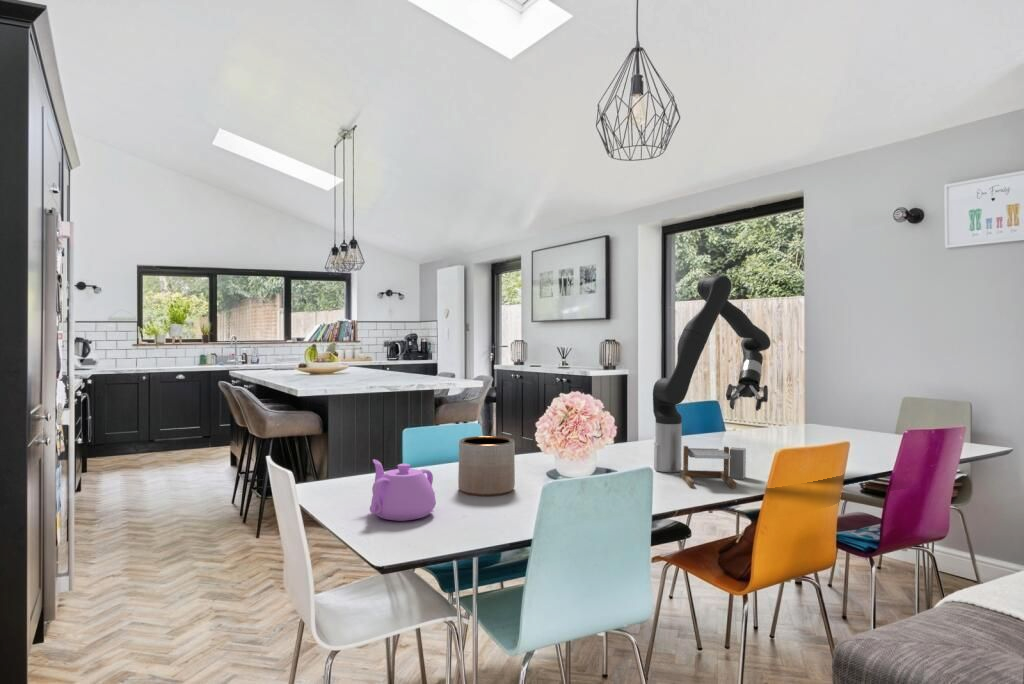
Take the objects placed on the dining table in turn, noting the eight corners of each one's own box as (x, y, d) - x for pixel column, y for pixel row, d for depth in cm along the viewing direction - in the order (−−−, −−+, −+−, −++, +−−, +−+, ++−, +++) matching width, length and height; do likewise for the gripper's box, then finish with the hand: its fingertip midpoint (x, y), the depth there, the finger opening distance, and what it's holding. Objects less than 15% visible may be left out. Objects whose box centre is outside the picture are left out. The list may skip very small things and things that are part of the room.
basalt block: (729, 478, 227) (729, 449, 227) (732, 475, 231) (732, 447, 231) (743, 479, 225) (743, 450, 225) (745, 477, 229) (745, 448, 229)
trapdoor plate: (686, 455, 228) (686, 446, 228) (719, 455, 227) (719, 447, 227) (695, 464, 213) (695, 455, 213) (730, 464, 212) (730, 455, 212)
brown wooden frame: (680, 475, 230) (680, 442, 230) (722, 476, 229) (723, 443, 229) (690, 487, 213) (690, 452, 212) (736, 489, 211) (736, 453, 211)
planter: (512, 497, 199) (513, 445, 199) (454, 496, 200) (454, 444, 200) (516, 484, 217) (516, 436, 216) (462, 482, 218) (462, 435, 218)
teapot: (402, 499, 196) (402, 452, 196) (454, 512, 182) (455, 462, 182) (340, 515, 179) (340, 464, 179) (393, 530, 165) (393, 475, 165)
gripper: (729, 367, 249) (722, 401, 239) (769, 368, 242) (764, 403, 232) (732, 380, 253) (725, 414, 244) (771, 382, 246) (766, 416, 237)
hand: (744, 408), depth 238 cm, fingers open, 8 cm apart
